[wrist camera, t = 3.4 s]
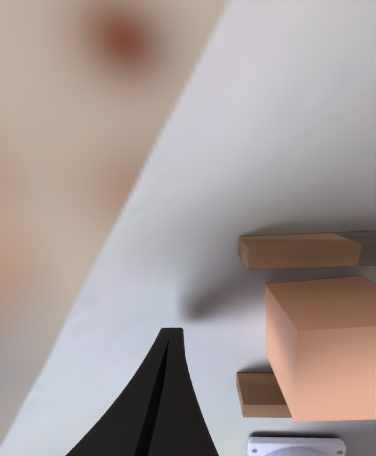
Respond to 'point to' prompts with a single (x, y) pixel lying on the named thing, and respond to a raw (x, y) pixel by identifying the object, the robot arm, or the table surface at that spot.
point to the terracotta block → (324, 347)
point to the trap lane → (294, 258)
